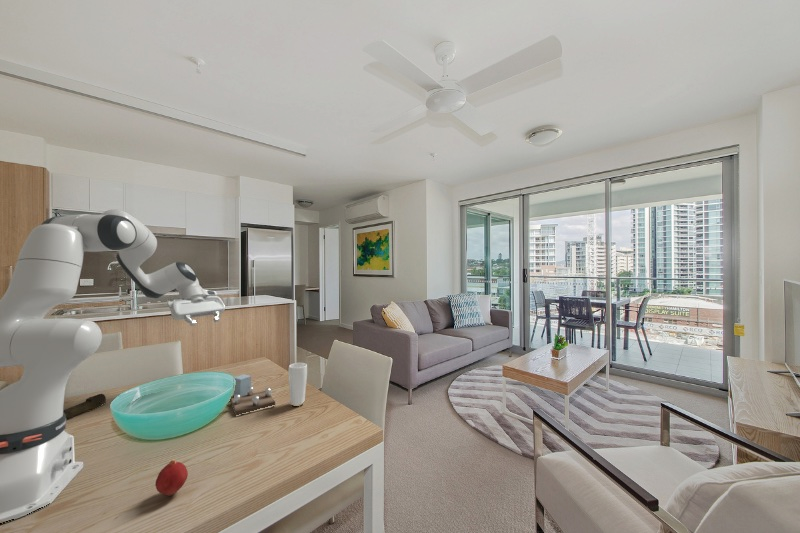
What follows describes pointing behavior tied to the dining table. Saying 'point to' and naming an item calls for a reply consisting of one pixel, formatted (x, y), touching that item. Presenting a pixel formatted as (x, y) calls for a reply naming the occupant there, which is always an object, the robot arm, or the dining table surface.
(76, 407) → the rusty brown artillery shell
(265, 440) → the dining table surface
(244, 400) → the peg board
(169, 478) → the onion
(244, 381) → the block
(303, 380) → the drinking glass
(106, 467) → the dining table surface
